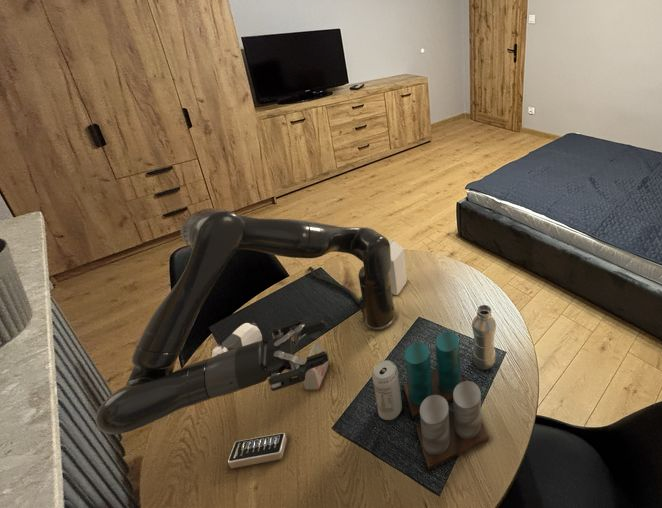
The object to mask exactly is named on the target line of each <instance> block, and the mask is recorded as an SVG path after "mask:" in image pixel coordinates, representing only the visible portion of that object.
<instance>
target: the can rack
mask: <svg viewBox="0 0 662 508" xmlns="http://www.w3.org/2000/svg"><path fill="white" fill-rule="evenodd" d="M435 356H436V357H435V358H436V370H434V371H432V368H431V356H430V348H429V347H428V345H427V344H426V343H423V342H413V343H411V344H410V345H409V346H407V348H406V349H405V351H404V361H405V369H406V379H407V382H405V383H403V384H402V386H403V390H404V394H405V396H406V400H407V404H408V407H409V411H410V414H411V417H412V419H416V418H417V417H420V406H421V404H422V402H423V401H424V399H426V398H427V397H429V396H431V395H440V396H442V397H443V398H445V400H446V401H447V403H448V404H449V403H452V402H453V392H454V389H455V387H456V386H457V385H458V384H459V383H461V382H464V379H463V377H462V375H461V355H460V338H459V336H458V335H457V334H456V333H455V332H453V331H444V332H441V333H439V334H438V335H437V337H436V338H435Z"/></svg>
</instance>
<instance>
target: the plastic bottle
mask: <svg viewBox="0 0 662 508" xmlns="http://www.w3.org/2000/svg"><path fill="white" fill-rule="evenodd" d="M476 310H477V312H476V315H475V316H474V318H473V319H472V322H471V328H472V333H473V340H474V341H473V342H474V344H473V350H472V356H471V357H472V361H473V364H474V365H475V367H476V368H478V369H480V370H485V371H486V370H489V369H491V368H493V366H495V363H496V359H497V354H496V350H495V335H496V330H497V322H496V320H495V319H494V316H492V307H490V306H489V305H487V304H481V305H479V306H478V307H477V309H476Z"/></svg>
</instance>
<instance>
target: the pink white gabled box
mask: <svg viewBox="0 0 662 508" xmlns="http://www.w3.org/2000/svg"><path fill="white" fill-rule="evenodd" d="M324 351H325V350H324V349H323V348H322V347H321V345H320V344H319V343H318V341H317V340H316V341H315V342H314V343H313V345H312V347H311V349H310V351H309V354H308V356H307V357H310V356H312V355H315V354H318V353H321V352H324ZM328 368H329V364H328V361H327V362H325V363H324V364H323V365H320V366H317V367H315V368H312V369H309V370H308V371H307V372H306V375H305V380H304V381H303V382H302V383H303V386H304V389H305V390H317V391H318V390H319V389H320V388H321V385H322V383H323V380H324V378H325V376H326V373H327V371H328Z"/></svg>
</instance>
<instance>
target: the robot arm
mask: <svg viewBox="0 0 662 508" xmlns="http://www.w3.org/2000/svg"><path fill="white" fill-rule="evenodd" d="M180 237H181V239H182V241H183V242H184V243H185V245H187V247H188V248H190V249H192V250H191V253H190V256H189V260H188V262H187V264H186V266H185V269H184V270H183V272H182V273H181V276H180V277H179V279H178V280H177V282H176V284H174V286H173V287H172V289H171V290H170V292H169V293H168V294H167V295H166V297H164V299H163V300H162V301H161V303H160V304H159V305H158V306H157V308H156V309H155V311H154V312H153V314H152V315H151V317H150V319H149V321H148V322H147V324H146V325H145V328H144V330H143V332H142V334H141V336H140V338H139V340H138V341H137V344H136V346H135V348H134V351H133V353H132V355H131V364H132V365H133V367H132V370H131V372H130V374H129V376H128V379H127V381H126V382H125V384H124V386H122V387H121V388H119V389H117V390H116V391H114V392H113V393H111V394H110V395H109V396H108V397H107V398H106V399H105V400H103V402H102V403H101V405H100V406H99V408H98V410H97V413H96V414H95V423H96V426H97V428H98V429H99V431H101V432H102V433H104V434H108V435H123V434H125V433H129V432H132V431H135V430H137V429H140V428H143V427H144V426H147V425H149V424H151V423H154V422H156V421H157V420H160V419H162V418H164V417H166V416H169V415H170V414H173V413H175V412H177V411H180V410H182V409H184V408H185V409H186V408H189V407H191V406H194V405H197V404H201V403H203V402H206V401H209V400H212V399H216V398H218V397H223V396H227V395H230V394H233V393H236V392H238V391H241V390H244V389H248V388H250V387H253V386H255V385H258V384H261V383H264V382H266V381H268V384H269V388H270V390H271V391H272V392H275V391H279V390H281V389H284V388H287V387H291V386H295V385H297V384H300V383H303V381H304V380H305V375H306V372H307V371H308V370H309V369H312V368H315V367H317V366H320V365H323V364H324V363H325V362H327V363H328V361H329V355H328V352H327V351H326V350H324V352H321V353H318V354H315V355H312V356H310V357H308V356H307V357H306V358H302V357H298V356H297V355H296V353H295V352H296V346H297V345H298V344H299V342H300V341H301V340H302V339H303V338H304V337H305V336H310V335H313V334H316V333H319V332H322V331H325V329H326V325H325V321H324V320H315V321H312V322H309V323H304V322H303V321H302V319H301V318H297V319H293V320H291V321H287V322H285V323H282V324H280V325H276V326H274V327H272V328H271V334H272V335H271V336H272V339H271V340H269V341H263V340H262V341H258V342H255V343H252V344H249V345H245V346H242V347H239V348H236V349H233V350H230V351H226V352H223V353H221V354H219V355H216V356H214V357H212V358H211V357H208V358H206V359H203V360H200V361H197V362H194V363H190V364H187V365H185V366H183V367H180V368H178V369H177V370H175V366H176V362H177V360H178V358H179V356H180V354H181V352H182V351H183V348H184V346H185V343H186V341H187V339H188V337H189V335H190V333H191V330H192V328H193V326H194V324H195V322H196V319H197V317H198V315H199V313H200V311H201V310H202V307H203V305H204V304H205V302H206V301H207V298H208V296H209V295H210V293H211V291H212V290H213V288H214V287H215V284H216V283H217V281H218V280H219V278H220V276H221V275H222V273H223V271H224V270H225V268H226V267H227V265H228V264H229V262H230V260H231V258H233V256H234V255H235V253H236V252H237V250H246V251H247V250H249V251H254V252H259V253H264V254H268V255H273V256H278V257H284V258H285V257H286V258H292V259H293V258H294V259H318V258H320V257H323V256H325V255H327V254H328V255H329V254H330V253H344V254H349V255H352V256H354V257H356V259H358V260H360V261H361V262H362V263H363V266H362V267H361V268H360V269H359V271H358V282H359V288H360V293H361V296H360V298H358V297H356V295H355V294H354V292H352V291H351V290H350V289H348V288H347V287H345V286H343V285H341V284H339V283H337V282H335V281H332V280H330V279H327V278H325V277H322V276H320V275H318V274H317V273H316V272H315V270H314V268H313V267H312V266H309V267H308V270H309V271H310V272H311V274H312V276H313V277H315V278H316V279H317V280H320V281H322V282H326V283H329V284H330V285H333V286H335V287H337V288H339V289H341V290H343V291H344V292H346V293H347V294H348V295H349V296H350V297H351V298H352V299H353V300H354V302H356V304H357V305H359V306H360V307H359V308H360V312H361V315H362V320H363V322H365V325H366V327H367V328H368V329H369V330H373V331H382V330H386V329H388V328H389V327H390V326H391V325H392V324H393V323H394V321H395V319H396V315H395V313H396V312H395V304H394V300H393V294H392V289H391V281H390V273H389V272H390V269H391V250H390V244H389V242H390V241H389V239H388V238H387V237H386V236H384V235H383V234H382V233H380V232H378V231H376V230H375V229H373V228H370V227H366V226H365V227H363V226H361V227H360V226H359V227H357V226H356V227H353V226H349V227H347V226H339V225H333V224H327V223H322V222H316V221H309V220H301V219H292V218H291V219H289V218H258V217H252V216H245V215H241V214H238V213H236V212H235V211H234V212H233V211H230V210H226V209H220V208H216V207H215V208H212V207H211V208H204V209H199V210H197V211H196V212H193V213H191V214H190V215H189V216H188V217H187V218H185V220H184V221H183V222H182V224H181V227H180Z"/></svg>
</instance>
